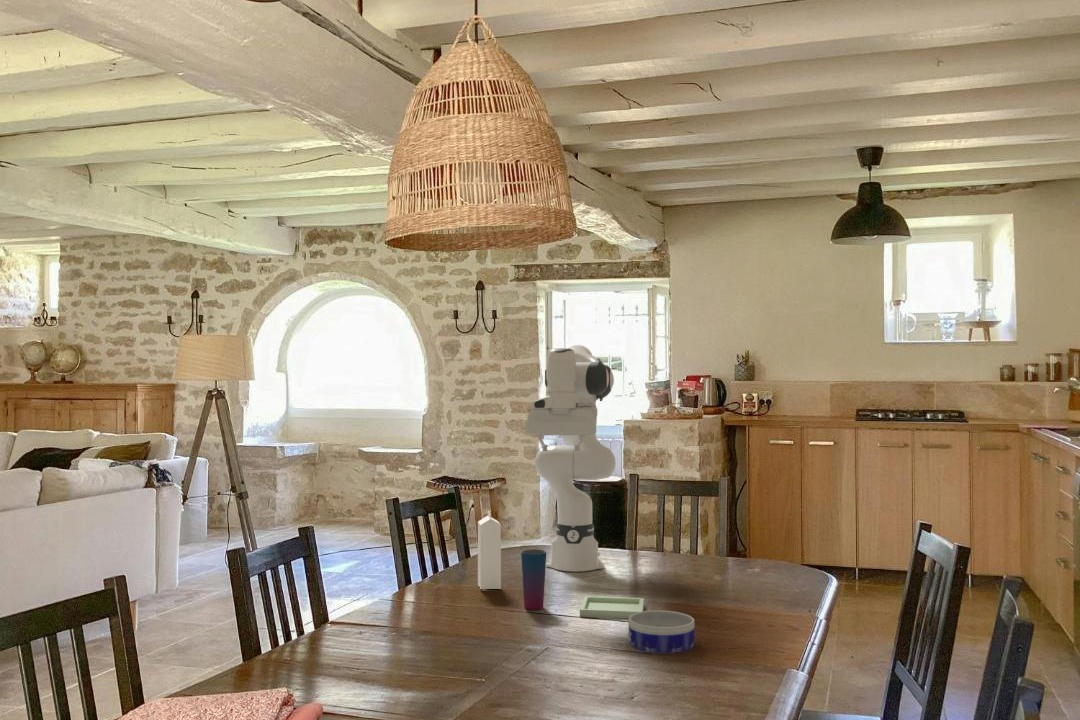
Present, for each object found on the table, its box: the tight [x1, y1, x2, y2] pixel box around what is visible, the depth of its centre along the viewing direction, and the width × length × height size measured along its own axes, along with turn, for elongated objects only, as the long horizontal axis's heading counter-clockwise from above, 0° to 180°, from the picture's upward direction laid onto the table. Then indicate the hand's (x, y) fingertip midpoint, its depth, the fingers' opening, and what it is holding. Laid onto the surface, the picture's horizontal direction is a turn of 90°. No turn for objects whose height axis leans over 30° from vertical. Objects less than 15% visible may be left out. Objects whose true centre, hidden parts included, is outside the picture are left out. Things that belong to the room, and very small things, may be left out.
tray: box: [579, 595, 645, 619], centre depth 243 cm, size 14×16×2 cm
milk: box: [477, 510, 502, 590], centre depth 268 cm, size 6×6×22 cm
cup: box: [520, 548, 547, 611], centre depth 246 cm, size 7×7×15 cm
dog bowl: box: [627, 609, 696, 654], centre depth 215 cm, size 15×15×6 cm
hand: (561, 451), depth 265 cm, fingers open, 8 cm apart
